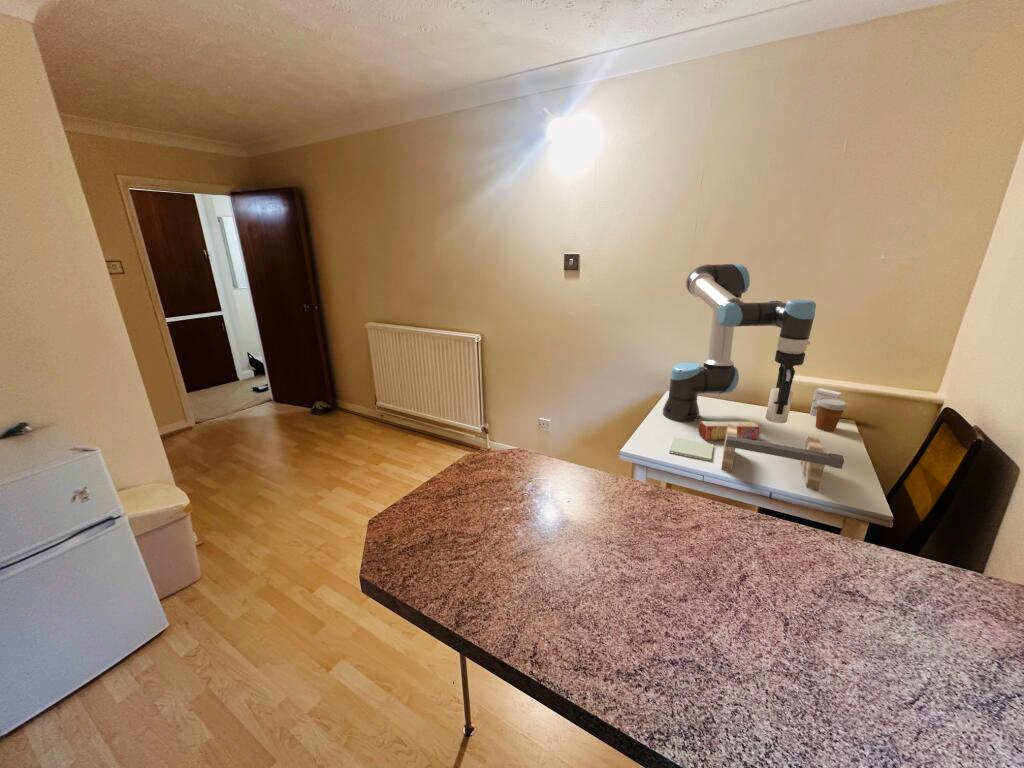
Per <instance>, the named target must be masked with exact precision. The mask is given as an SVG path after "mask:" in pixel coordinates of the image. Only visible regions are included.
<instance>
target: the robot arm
mask: <svg viewBox="0 0 1024 768" xmlns="http://www.w3.org/2000/svg"><path fill="white" fill-rule="evenodd" d="M750 278H751V277H750V272H749V270H748V269H747V267H746V266H745V265H743V264H740V263H739V264H737V263H730V264H729V263H727V264H704V265H700V266H697V267H696V268H695V269H693V270H692V271H691V272H690V273H689V275H688V276H687V278H686V284H685V286H686V288H687V291H688V292H689V293H690V294H691V295H692V296H693V297H695V298H700V300H702V301H703V302H704V303H706V304H707V305H708V307H710V308H711V309H712V311H711V312H712V314H711V323H710V325H711V326H710V335H709V345H708V346H709V347H708V355H707V356H708V357H707V359H706V360H704V361H703V366H702V365H701V364H699V363H697V362H682V363H678V364H675V365H673V367H672V369H671V374H670V382H669V390H668V397H667V400H666V402H665V403H664V405H663V408H662V414H663V416H664V417H666V418H667V419H670V420H672V421H678V422H694V421H696V420H699V419H700V409H699V405H698V404H699V403H698V395H699V394H719V395H720V394H721V395H722V394H729V393H731V392H733V391H734V390H735V389H737V388H736V387H737V386H738V383H739V378H740V375H739V370H738V368H737V367H736V366H735V363H734V362H733V361H732V350H733V349H732V348H733V340H734V329H735V327H760V326H761V327H764V326H765V327H766V326H769V327H772V326H773V327H778V328H780V333H779V336H778V339H777V340H778V342H777V345H776V347H777V350H776V353H775V356H774V361H775V362H776V363H777V364H779V367H778V375H777V380H776V384H775V385H776V386H775V388H779V393H778V398H777V402H774V404H775V409H774V414H773V418H772V423H775V422H776V423H775V424H783V423H782V421H783V416H784V412H785V407H786V405H787V404H788V398H789V393H790V390H791V388H792V384H793V380H794V378H795V374H796V373H795V372H796V370H795V368H794V366H797V367H798V366H802V365H803V364H804V362H805V357H806V353H805V352H806V351H807V348H808V345H810V344H811V341H809V340H810V336H811V332H812V328H813V324H814V319H815V316H816V310H817V309H816V308H817V303H816V302H815V300H814V301H813V300H810V299H800V298H799V299H798V298H797V299H796V298H795V299H789V300H787V301H786V302H783V301H779V300H767V301H765V302H744V301H743V300H741V299H742V294H744V293H747V292H748V290H749V289H748V288H749V287H750V284H751V283H750V281H751V279H750Z"/></svg>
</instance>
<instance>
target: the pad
mask: <svg viewBox="0 0 1024 768" xmlns="http://www.w3.org/2000/svg"><path fill="white" fill-rule="evenodd" d="M714 446H715V444H713V443H707V442H704V441H703V442H702V441H696V440H693V439H692V440H691V439H686V438H681V437H676V436H674V437H673V440H672V443H671V445H670V448H669V452H673V453H678V454H682V455H681V456H683V455H686V456H685V457H688V456H691V457H690V458H692V457H695V458H694V459H697V458H699V459H698V460H702V459H704V460H703V461H707V460H709V461H708V462H711V461H712V457H713V451H714ZM673 453H672V454H673ZM678 454H677V455H678Z"/></svg>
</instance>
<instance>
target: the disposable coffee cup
mask: <svg viewBox="0 0 1024 768" xmlns="http://www.w3.org/2000/svg"><path fill="white" fill-rule="evenodd" d="M846 409H847V404H846V402H845V401H843V400H842V399H840V400H839V399H835V398H828V397H822V398H819V399H818V401H817V416H815V428H816V427H817V428H816V429H818V430H820V429H821V430H820V431H823V430H824V432H829V431H832V432H834V430H836V428H837V426H838V424H839V422H840V419H841V417H842V415H843V413H844V410H846Z"/></svg>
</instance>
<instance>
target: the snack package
mask: <svg viewBox="0 0 1024 768" xmlns="http://www.w3.org/2000/svg"><path fill="white" fill-rule="evenodd" d="M728 423H732V424H737V437H739V438H744V439H750V440H756V441H757V440H758V438H759V436H760V432H761V431H760V429H761V428H760V426H759V425H758V424H757V423H756V422H753V421H707V420H706V421H705V420H704V421H700V422H699V426H698V434H699V436H700V437H701V438H702V439H703V440H704V439H705V441H707V440H715V441H716V440H718V441H719V440H721V441H722V440H725V438H726V432H727V426H728Z"/></svg>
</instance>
